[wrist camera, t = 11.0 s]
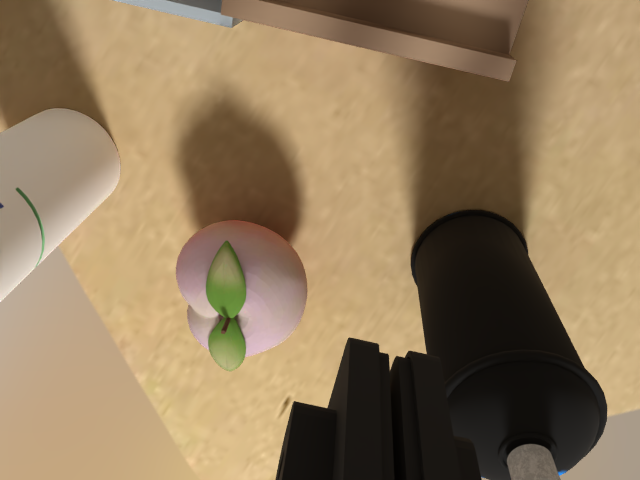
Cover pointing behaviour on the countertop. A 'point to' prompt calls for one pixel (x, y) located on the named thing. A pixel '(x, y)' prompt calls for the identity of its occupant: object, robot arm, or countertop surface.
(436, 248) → the aerosol can
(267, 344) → the decorative fruit
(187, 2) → the bin
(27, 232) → the cylindrical container
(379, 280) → the countertop surface
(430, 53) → the brown wooden box
